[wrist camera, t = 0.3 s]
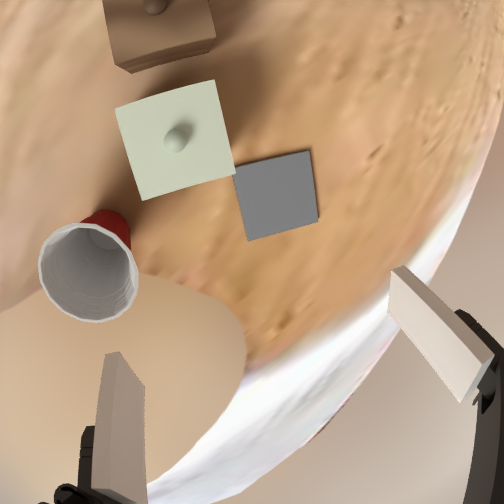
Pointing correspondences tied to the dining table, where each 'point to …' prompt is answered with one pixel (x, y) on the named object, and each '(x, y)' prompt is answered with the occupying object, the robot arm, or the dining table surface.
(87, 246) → the plastic cup
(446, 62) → the dining table surface
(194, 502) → the dining table surface
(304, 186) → the grey square plate
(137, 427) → the robot arm
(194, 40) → the walnut cover
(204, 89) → the sage cover
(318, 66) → the dining table surface
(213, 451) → the dining table surface
